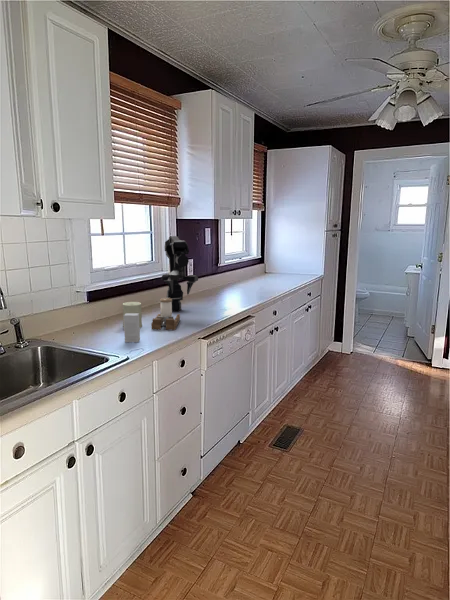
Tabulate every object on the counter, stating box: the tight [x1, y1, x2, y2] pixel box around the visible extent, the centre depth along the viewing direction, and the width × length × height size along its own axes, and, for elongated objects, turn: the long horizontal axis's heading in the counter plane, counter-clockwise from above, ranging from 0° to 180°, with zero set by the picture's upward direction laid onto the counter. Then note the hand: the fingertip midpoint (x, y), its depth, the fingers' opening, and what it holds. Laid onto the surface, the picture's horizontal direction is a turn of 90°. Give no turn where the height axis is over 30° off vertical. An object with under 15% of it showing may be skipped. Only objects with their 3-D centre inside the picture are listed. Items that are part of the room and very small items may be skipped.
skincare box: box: [123, 313, 141, 343], centre depth 180 cm, size 6×4×12 cm
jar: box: [159, 297, 173, 317], centre depth 209 cm, size 6×6×13 cm
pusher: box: [156, 315, 174, 327], centre depth 203 cm, size 8×8×4 cm
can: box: [122, 301, 143, 328], centre depth 204 cm, size 9×9×12 cm
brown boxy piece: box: [150, 313, 181, 331], centre depth 209 cm, size 20×11×5 cm, turn 0°
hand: (179, 293), depth 221 cm, fingers open, 9 cm apart
